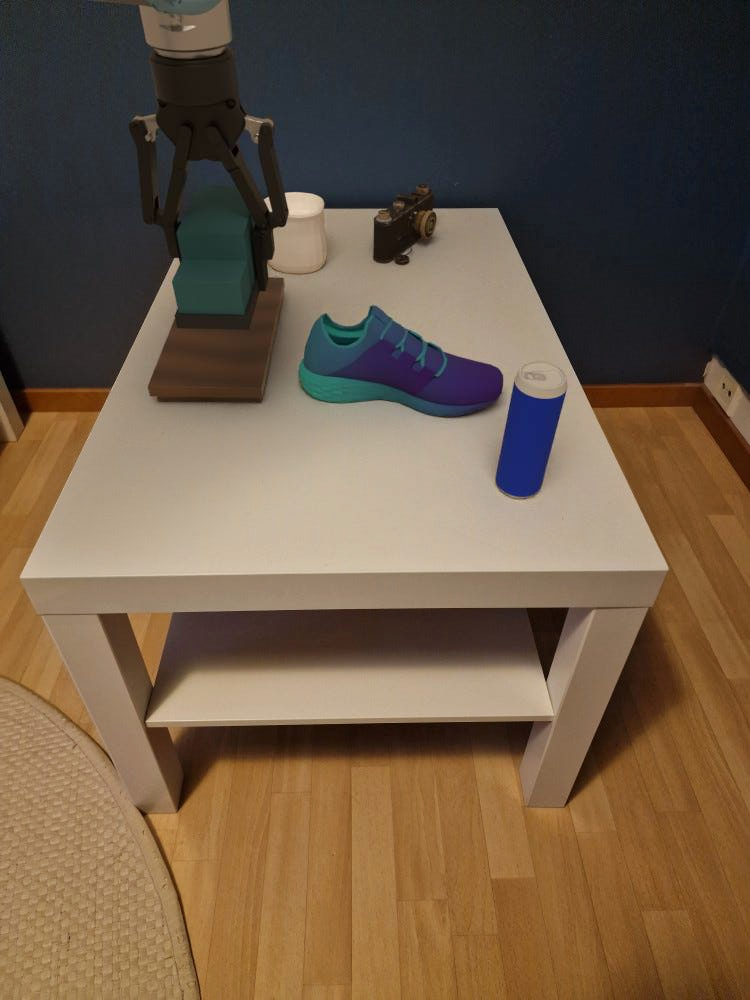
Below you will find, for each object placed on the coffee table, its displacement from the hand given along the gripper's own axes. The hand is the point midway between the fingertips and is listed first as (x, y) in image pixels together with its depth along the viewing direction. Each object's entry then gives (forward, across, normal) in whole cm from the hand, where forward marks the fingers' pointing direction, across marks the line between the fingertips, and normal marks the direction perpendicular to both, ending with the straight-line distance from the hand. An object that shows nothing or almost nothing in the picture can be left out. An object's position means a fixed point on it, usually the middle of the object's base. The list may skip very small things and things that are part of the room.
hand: (227, 284), depth 77 cm
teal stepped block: (0, 0, 0) cm, 0 cm away
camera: (+16, +22, +43) cm, 51 cm away
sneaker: (+16, +20, +2) cm, 25 cm away
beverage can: (+16, +33, -15) cm, 40 cm away
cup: (+16, +3, +36) cm, 39 cm away
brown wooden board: (+15, -4, +11) cm, 20 cm away
